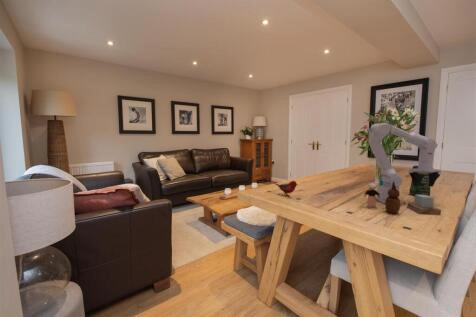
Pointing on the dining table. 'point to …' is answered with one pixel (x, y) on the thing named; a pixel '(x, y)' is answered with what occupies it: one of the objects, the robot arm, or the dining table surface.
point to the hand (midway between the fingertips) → (422, 186)
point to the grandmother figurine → (372, 195)
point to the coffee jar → (421, 185)
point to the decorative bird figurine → (287, 187)
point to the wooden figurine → (393, 200)
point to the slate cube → (424, 201)
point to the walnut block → (424, 209)
